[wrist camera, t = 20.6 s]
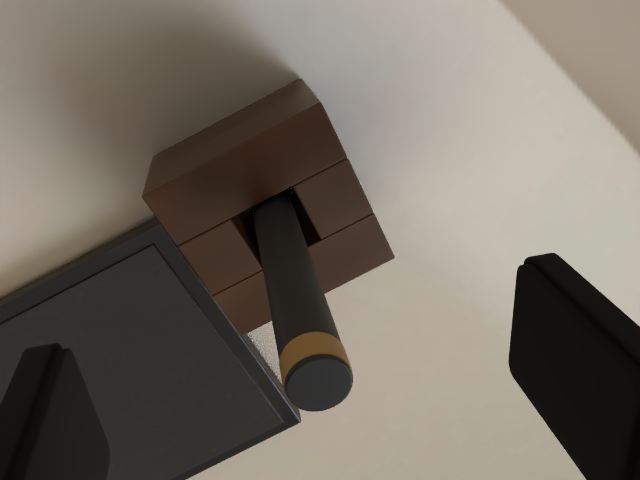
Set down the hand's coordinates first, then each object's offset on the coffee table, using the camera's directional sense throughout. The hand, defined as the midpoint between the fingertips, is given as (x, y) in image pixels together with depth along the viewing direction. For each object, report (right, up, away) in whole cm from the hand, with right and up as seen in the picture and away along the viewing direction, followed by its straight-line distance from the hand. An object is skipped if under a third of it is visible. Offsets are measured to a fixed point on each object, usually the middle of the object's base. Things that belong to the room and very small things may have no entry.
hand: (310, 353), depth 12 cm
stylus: (-2, +5, +10) cm, 11 cm away
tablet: (-10, -5, +13) cm, 17 cm away
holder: (-2, +5, +10) cm, 11 cm away
